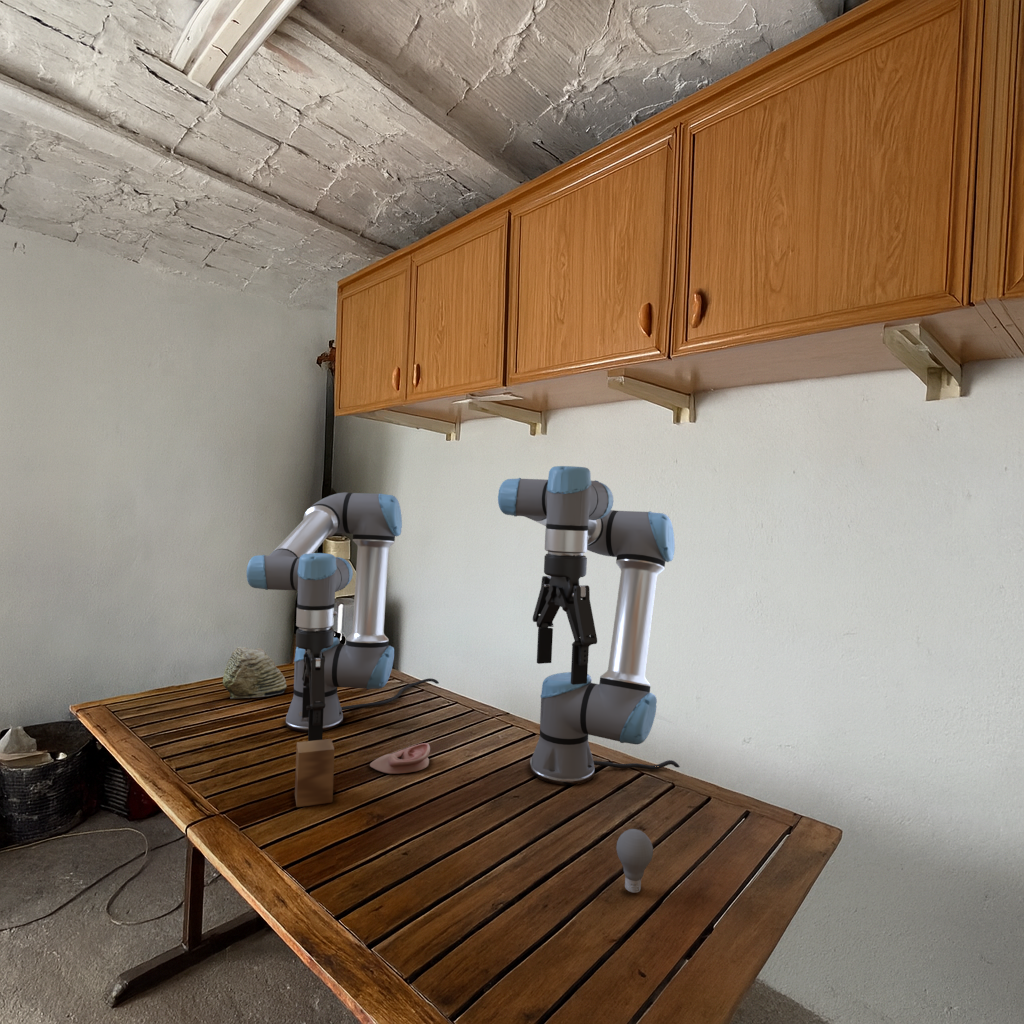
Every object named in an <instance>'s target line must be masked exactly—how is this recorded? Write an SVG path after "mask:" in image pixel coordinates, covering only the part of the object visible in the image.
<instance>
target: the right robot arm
mask: <svg viewBox="0 0 1024 1024" xmlns="http://www.w3.org/2000/svg"><path fill="white" fill-rule="evenodd" d="M591 474H592V473H591V470H590V469H589V467H585V466H576V465H575V466H574V465H556V466H551V468H550V469H549V471H548V476H547V477H548V478H547V479H540V478H539V479H538V478H521V477H517V478H507V479H504V481H502V482H501V484H500V486H499V489H498V495H497V501H498V502H497V503H498V507H499V511H501V512H502V513H503V514H504V515H506V516H514V517H525V518H527V519H529V520H531V521H534V522H536V523H538V524H540V525H542V526H544V527H545V530H544V531H545V532H544V551H546V552H547V553H546V554H545V555H544V558H543V560H544V562H543V573H544V574H545V575H542V577H541V584H540V588H539V589H540V590H539V593H538V597H537V601H536V604H535V608H534V612H533V615H532V622H533V623H536V627H537V647H536V664H539V665H541V664H552V660H553V659H552V658H553V639H554V638H553V637H554V628H553V627H554V623H553V622H554V619H555V618H556V616H557V614H558V612H559V611H560V608H562V611H563V612H565V613H566V617H567V620H568V622H569V627H570V630H571V633H572V637H573V642H572V643H571V667H570V669H571V670H570V671H567V672H559V673H554V674H550V675H548V676H547V677H545V678H544V679H543V681H542V684H541V694H540V713H539V714H540V716H539V737H538V741H537V743H536V746H535V748H534V751H533V754H532V756H531V757H530V760H529V764H530V772H531V774H533V776H534V777H536V778H537V779H539V780H542V781H543V782H546V783H549V784H554V785H561V786H562V785H564V786H573V785H574V786H575V785H581V784H584V783H588V782H589V781H591V780H592V779H594V776H595V770H596V769H595V767H596V766H601V767H609V768H615V769H635V768H636V769H643V770H650V771H653V770H655V771H656V770H659V769H662V768H665V767H666V766H670V765H671V766H674V767H675V768H681V766H680V765H679V763H678V762H676V761H675V760H671V759H670V760H669V759H667V760H665V761H662V762H661V763H657V764H654V765H651V764H644V763H636V762H633V763H631V762H630V763H616V762H609V761H602V760H601V761H600V760H594V757H593V754H592V751H591V747H590V743H589V736H593V737H598V738H602V739H606V740H610V741H616V742H619V743H620V744H624V743H625V744H630V745H641V744H642V743H644V742H645V741H646V740H647V738H648V737H649V735H650V732H651V730H652V728H653V724H654V721H655V717H656V713H657V702H658V701H657V696H656V695H655V694H654V693H653V692H651V683H650V682H649V681H648V679H647V678H646V669H647V661H648V653H649V646H650V637H651V629H652V621H653V613H654V606H655V605H654V604H655V597H656V596H655V595H656V589H657V588H656V587H657V579H658V575H659V574H661V573H662V572H663V571H665V569H666V563H669V562H672V561H673V559H674V556H675V548H676V547H675V546H676V545H675V533H674V526H673V522H672V520H671V519H670V517H669V516H668V515H667V514H666V513H664V512H655V511H654V512H653V511H650V510H649V511H635V510H633V511H632V510H615V509H613V506H614V495H613V492H612V490H611V488H610V487H608V485H607V484H605V483H603V482H600V481H599V480H592V479H591V478H592V477H591V476H592V475H591ZM588 551H589V552H591V553H594V554H597V555H601V556H605V557H613V558H615V559H616V560H615V564H616V565H617V567H618V568H619V569H620V577H619V584H618V593H617V599H616V607H615V614H614V621H613V629H612V635H611V636H612V637H611V642H610V643H611V645H610V652H609V660H608V667H607V670H606V671H605V672H604V673H603V674H601V675H600V676H599V683H595V682H592V680H593V679H592V676H591V675H590V674H589V673H588V671H589V670H588V669H589V652H590V651H589V650H590V646H593V645H597V644H598V636H597V631H596V627H595V625H596V624H595V621H594V614H593V610H592V605H591V604H592V603H591V597H590V590H591V589H590V586H589V585H587V584H585V585H583V584H582V585H580V579H581V578H584V577H586V575H587V568H588V567H587V565H588V557H587V556H586V555H584V554H586V553H587V552H588ZM655 766H656V767H655ZM657 766H659V767H657Z"/></svg>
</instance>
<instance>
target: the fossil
mask: <svg viewBox="0 0 1024 1024" xmlns="http://www.w3.org/2000/svg"><path fill="white" fill-rule="evenodd" d="M222 676H223V677H222V685H223V687H224V688H225V690H226V691H228V693H229V698H230V699H250V698H264V697H271V696H275V695H281V694H284V693H285V691H286V689H287V687H288V686H287V680H286V678H285V676H284V674H283V673H282V672H281V669H279V668H278V667H277V665H276V663H275V662H274V660H273V659H272V658H271V657H270V656H269V655H268V654H267V653H266V652H265V650H264V649H263V648H260V647H258V648H251V647H247V646H246V647H245V646H238V647H237V648H236V649H235V650H233V651H232V653H231V656H230V657H229V659H228V660H227V663H226V666H225V668H224V671H223V675H222Z"/></svg>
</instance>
